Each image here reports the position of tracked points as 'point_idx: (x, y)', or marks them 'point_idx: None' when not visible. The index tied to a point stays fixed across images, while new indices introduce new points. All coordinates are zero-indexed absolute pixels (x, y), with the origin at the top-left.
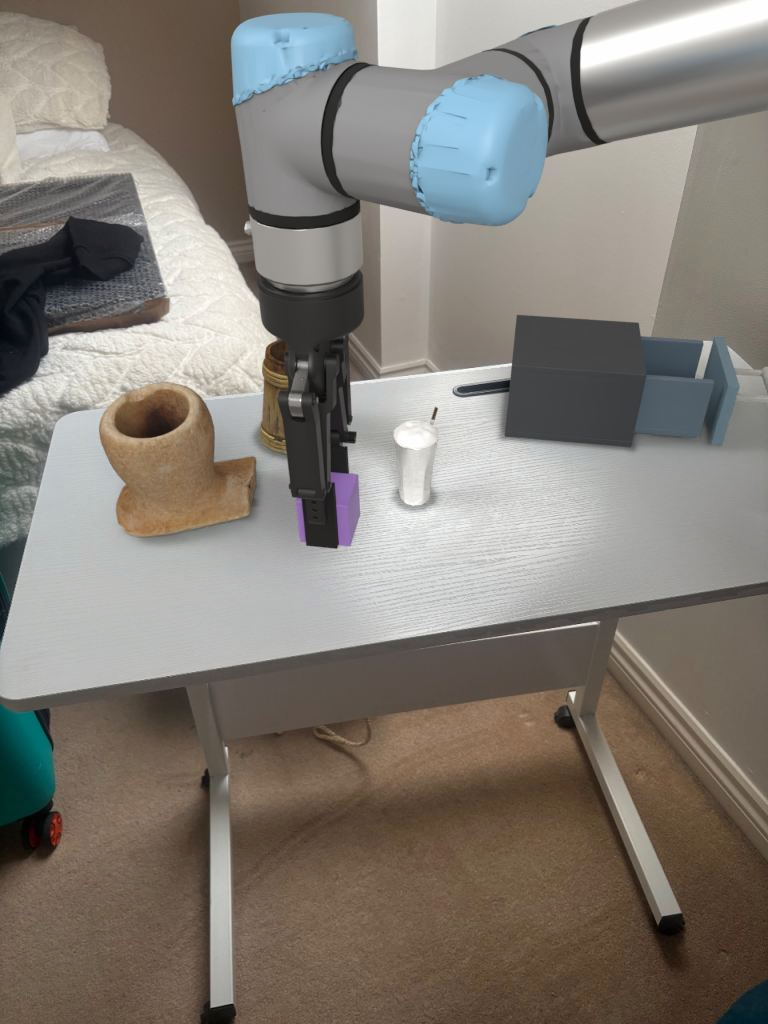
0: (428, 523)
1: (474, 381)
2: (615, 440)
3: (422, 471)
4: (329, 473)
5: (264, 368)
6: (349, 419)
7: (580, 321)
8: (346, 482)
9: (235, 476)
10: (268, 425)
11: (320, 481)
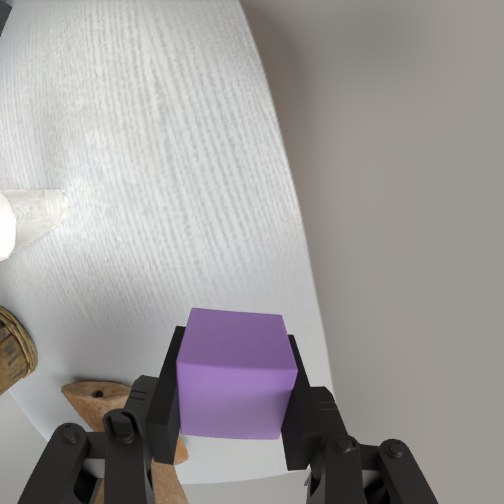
0: (95, 183)
1: None
2: (3, 17)
3: (37, 203)
4: (339, 467)
5: None
6: (77, 440)
7: None
8: (211, 381)
9: (101, 412)
10: (21, 377)
11: (423, 477)
